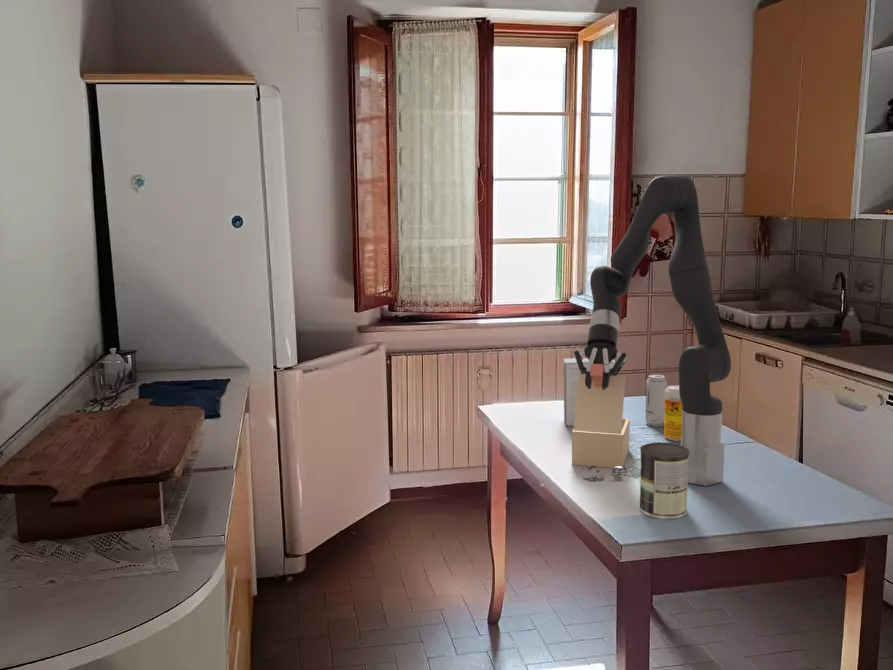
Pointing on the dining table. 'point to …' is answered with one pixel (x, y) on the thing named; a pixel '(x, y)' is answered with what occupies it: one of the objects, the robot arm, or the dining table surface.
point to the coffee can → (664, 480)
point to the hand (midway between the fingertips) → (596, 387)
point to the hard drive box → (572, 387)
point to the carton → (601, 447)
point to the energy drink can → (655, 400)
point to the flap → (599, 403)
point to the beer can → (673, 413)
